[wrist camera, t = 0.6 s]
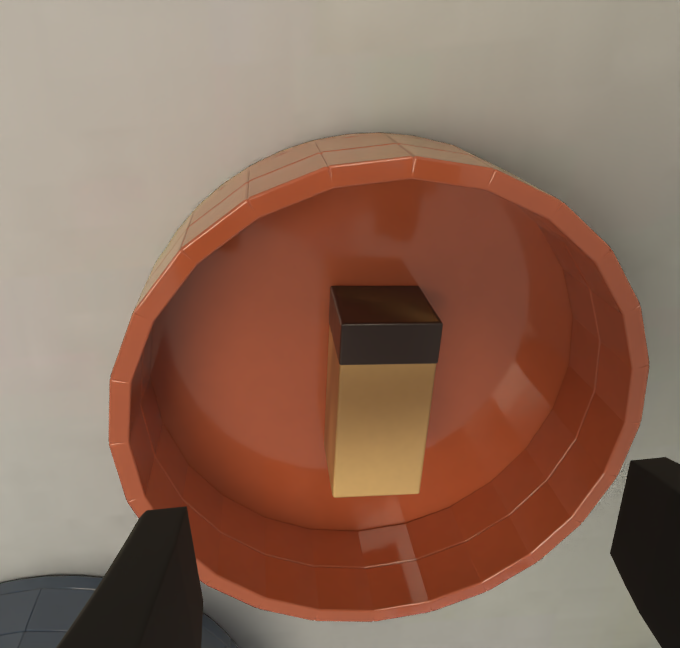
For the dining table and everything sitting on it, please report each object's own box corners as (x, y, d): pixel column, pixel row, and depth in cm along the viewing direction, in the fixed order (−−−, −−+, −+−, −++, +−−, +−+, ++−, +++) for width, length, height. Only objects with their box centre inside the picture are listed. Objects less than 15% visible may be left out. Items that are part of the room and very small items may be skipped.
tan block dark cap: (402, 441, 20) (420, 495, 18) (322, 444, 20) (331, 499, 18) (419, 284, 18) (443, 323, 16) (329, 285, 18) (341, 324, 15)
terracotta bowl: (607, 445, 22) (674, 524, 19) (251, 577, 23) (250, 678, 19) (526, 51, 16) (603, 55, 13) (44, 246, 17) (-14, 303, 13)
